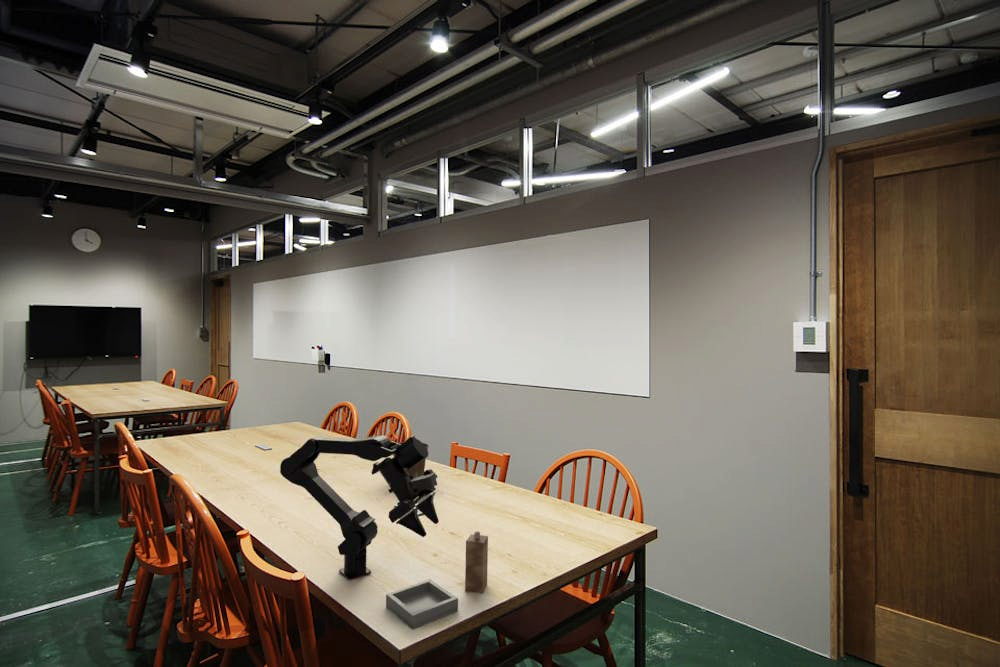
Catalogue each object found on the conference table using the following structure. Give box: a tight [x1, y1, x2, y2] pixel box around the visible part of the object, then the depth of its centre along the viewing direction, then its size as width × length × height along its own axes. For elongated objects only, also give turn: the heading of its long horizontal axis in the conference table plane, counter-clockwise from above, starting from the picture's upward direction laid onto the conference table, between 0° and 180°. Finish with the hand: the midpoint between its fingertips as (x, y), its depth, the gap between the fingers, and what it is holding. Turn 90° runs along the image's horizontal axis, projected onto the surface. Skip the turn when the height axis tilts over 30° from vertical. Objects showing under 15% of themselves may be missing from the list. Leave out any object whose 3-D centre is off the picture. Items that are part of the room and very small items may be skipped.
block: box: [464, 531, 489, 594], centre depth 128 cm, size 4×4×14 cm
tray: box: [385, 578, 459, 631], centre depth 118 cm, size 12×12×3 cm
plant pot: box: [392, 441, 430, 478], centre depth 223 cm, size 16×16×16 cm
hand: (431, 529), depth 131 cm, fingers open, 9 cm apart
